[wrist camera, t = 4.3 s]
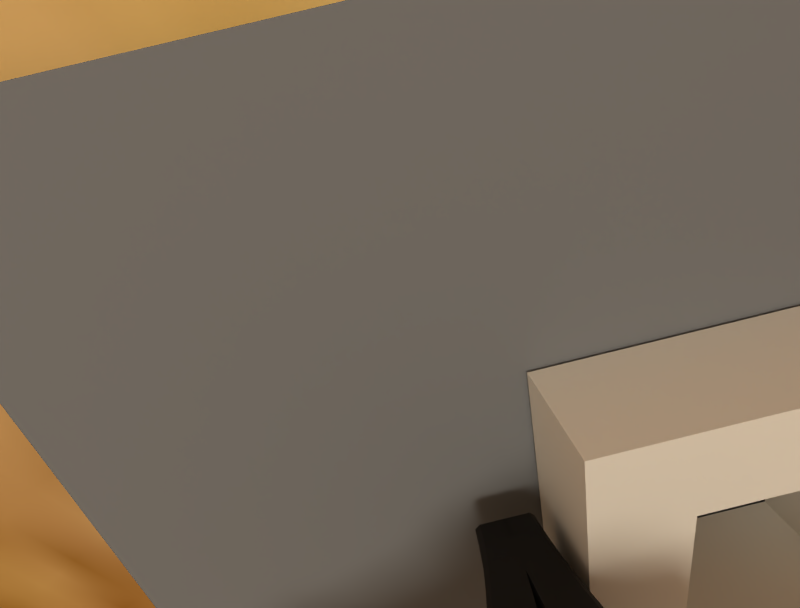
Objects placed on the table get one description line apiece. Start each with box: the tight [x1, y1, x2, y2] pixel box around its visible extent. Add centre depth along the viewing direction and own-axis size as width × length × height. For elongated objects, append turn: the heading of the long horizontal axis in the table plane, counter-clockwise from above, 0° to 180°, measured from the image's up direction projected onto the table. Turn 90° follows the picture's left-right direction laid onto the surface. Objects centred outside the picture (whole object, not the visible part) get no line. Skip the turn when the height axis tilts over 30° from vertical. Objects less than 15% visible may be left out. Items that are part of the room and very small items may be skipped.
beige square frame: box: [527, 306, 800, 608], centre depth 10 cm, size 8×8×2 cm
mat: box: [0, 0, 800, 608], centre depth 12 cm, size 24×22×1 cm
